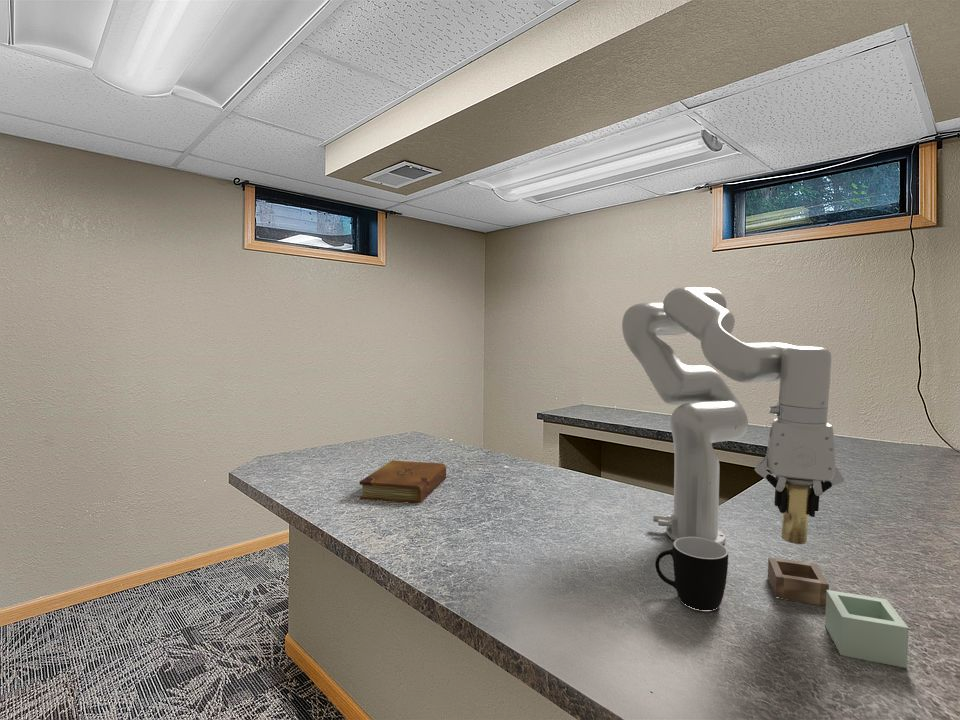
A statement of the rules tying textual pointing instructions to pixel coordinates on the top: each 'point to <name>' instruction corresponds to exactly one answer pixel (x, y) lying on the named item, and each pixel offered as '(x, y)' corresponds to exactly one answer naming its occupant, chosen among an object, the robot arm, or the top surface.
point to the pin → (796, 510)
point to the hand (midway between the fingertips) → (795, 511)
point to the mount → (797, 581)
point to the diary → (403, 481)
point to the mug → (697, 571)
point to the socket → (866, 628)
